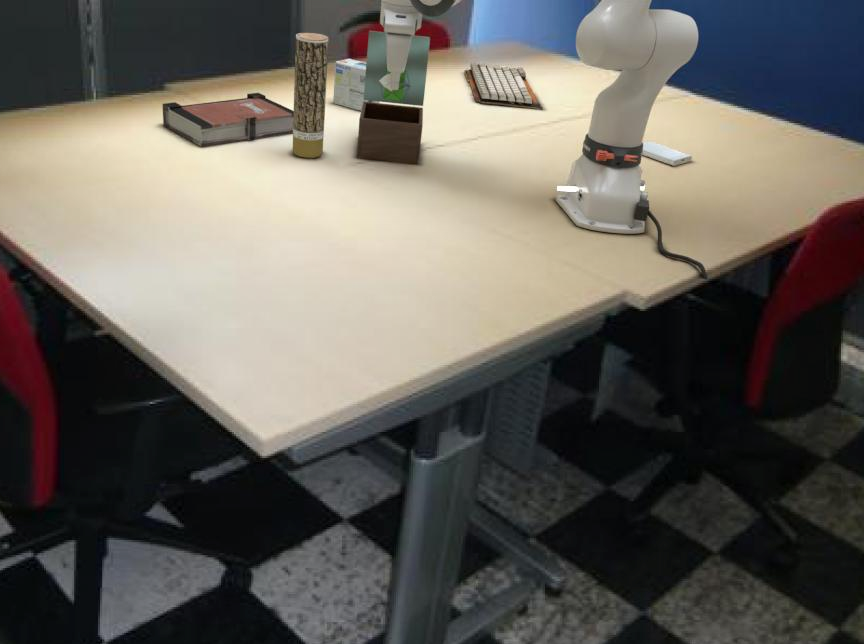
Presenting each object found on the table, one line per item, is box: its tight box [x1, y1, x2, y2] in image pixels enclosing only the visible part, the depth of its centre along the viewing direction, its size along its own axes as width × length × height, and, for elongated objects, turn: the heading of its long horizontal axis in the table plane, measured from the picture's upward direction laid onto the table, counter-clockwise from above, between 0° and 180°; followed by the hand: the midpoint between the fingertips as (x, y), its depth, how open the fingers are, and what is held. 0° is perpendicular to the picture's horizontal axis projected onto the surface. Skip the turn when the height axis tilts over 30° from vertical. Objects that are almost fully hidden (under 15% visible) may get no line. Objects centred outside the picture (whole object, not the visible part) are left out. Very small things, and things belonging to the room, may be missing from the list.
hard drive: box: [642, 140, 693, 167], centre depth 226 cm, size 2×8×12 cm
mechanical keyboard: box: [463, 61, 543, 110], centre depth 267 cm, size 38×19×3 cm, turn 2°
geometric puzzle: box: [379, 69, 411, 101], centre depth 199 cm, size 7×7×8 cm
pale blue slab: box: [363, 30, 431, 107], centre depth 208 cm, size 15×14×1 cm
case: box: [356, 102, 424, 165], centre depth 207 cm, size 14×14×9 cm
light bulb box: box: [332, 58, 380, 112], centre depth 235 cm, size 11×7×11 cm, turn 58°
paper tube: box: [292, 32, 329, 159], centre depth 195 cm, size 7×7×25 cm
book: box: [162, 92, 294, 148], centre depth 210 cm, size 26×18×5 cm
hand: (395, 84), depth 199 cm, fingers closed on geometric puzzle, 7 cm apart
